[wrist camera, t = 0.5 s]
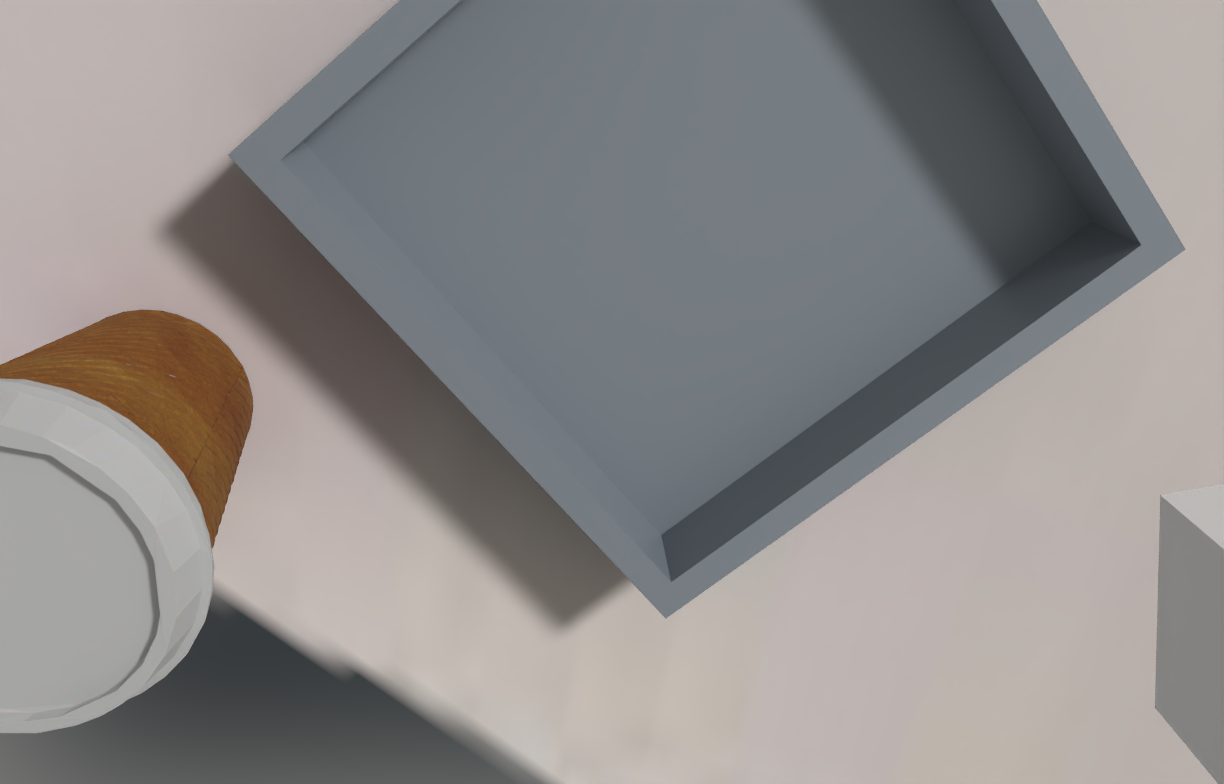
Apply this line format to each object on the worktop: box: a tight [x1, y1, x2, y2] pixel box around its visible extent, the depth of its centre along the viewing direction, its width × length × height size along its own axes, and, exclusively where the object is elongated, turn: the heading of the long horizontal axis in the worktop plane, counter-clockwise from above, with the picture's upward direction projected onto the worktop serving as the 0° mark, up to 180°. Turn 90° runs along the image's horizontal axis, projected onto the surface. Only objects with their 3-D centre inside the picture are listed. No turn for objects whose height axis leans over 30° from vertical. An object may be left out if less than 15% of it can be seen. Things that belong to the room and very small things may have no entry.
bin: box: [228, 0, 1185, 618], centre depth 33 cm, size 20×20×4 cm
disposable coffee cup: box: [0, 310, 253, 733], centre depth 31 cm, size 10×10×12 cm
